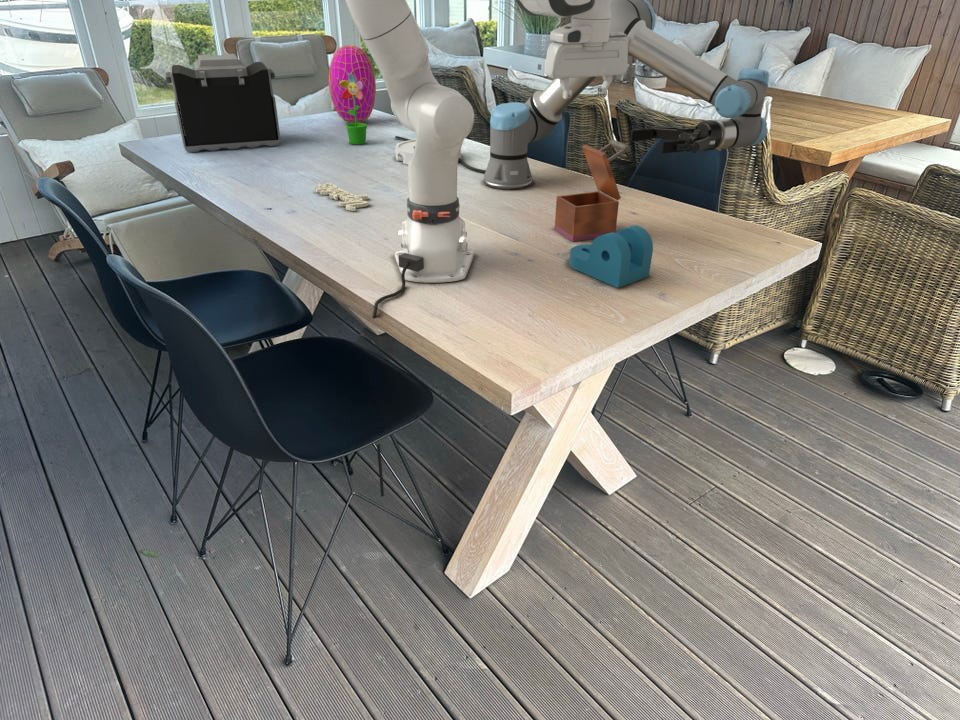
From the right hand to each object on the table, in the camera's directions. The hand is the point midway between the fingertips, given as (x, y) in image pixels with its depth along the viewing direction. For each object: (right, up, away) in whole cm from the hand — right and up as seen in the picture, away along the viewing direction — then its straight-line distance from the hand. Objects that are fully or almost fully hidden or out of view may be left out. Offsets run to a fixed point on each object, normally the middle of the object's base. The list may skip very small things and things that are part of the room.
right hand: (646, 141), depth 174 cm
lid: (-12, -8, -1) cm, 15 cm away
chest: (-15, -22, +6) cm, 27 cm away
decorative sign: (-83, -7, +29) cm, 88 cm away
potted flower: (-89, +27, +88) cm, 128 cm away
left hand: (-18, +6, -13) cm, 23 cm away
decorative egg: (-96, +46, +119) cm, 159 cm away
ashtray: (-61, +16, +70) cm, 94 cm away
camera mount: (-14, -35, -16) cm, 41 cm away
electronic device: (-136, +26, +85) cm, 162 cm away
